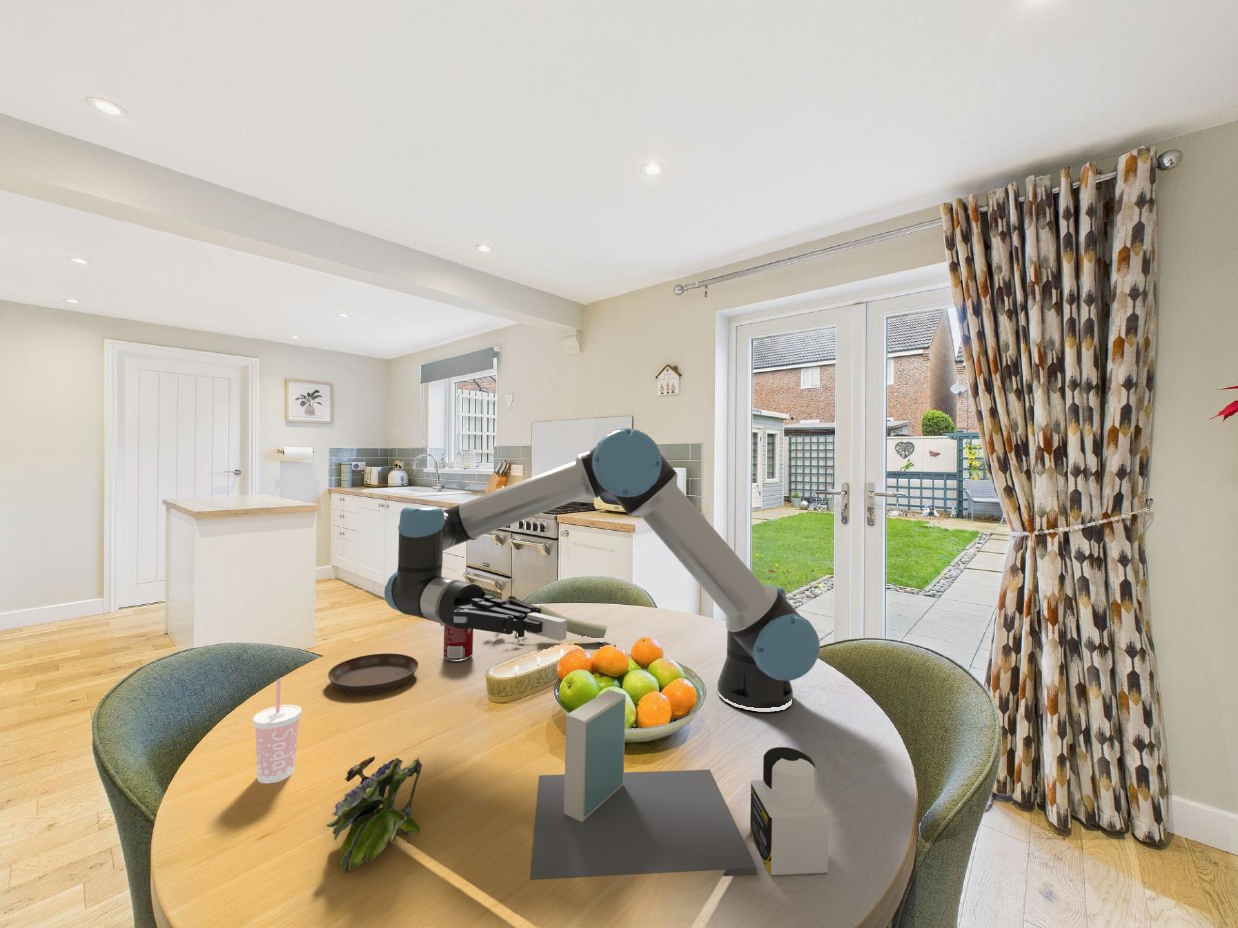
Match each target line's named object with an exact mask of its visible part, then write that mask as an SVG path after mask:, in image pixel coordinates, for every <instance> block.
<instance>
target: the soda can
mask: <svg viewBox="0 0 1238 928" xmlns="http://www.w3.org/2000/svg"><path fill="white" fill-rule="evenodd" d="M473 644H474V629H471V628H470V629H467V630H461V629H457V628H454V627H450V626H447V625H445V626H443V658H444V659H445V660H448V661H449V660H460V659H465V658H468V657H469V658H470V656H471V655H472V656H473V649H474V645H473ZM472 656H471V657H472ZM469 658H468V659H469Z"/></svg>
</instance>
